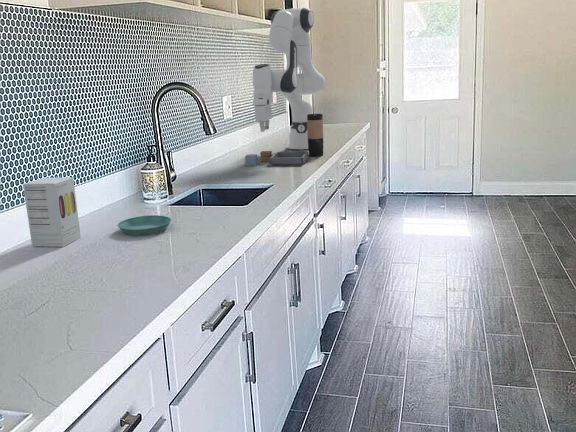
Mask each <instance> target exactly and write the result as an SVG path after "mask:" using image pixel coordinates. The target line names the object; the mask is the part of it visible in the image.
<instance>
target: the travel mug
mask: <svg viewBox="0 0 576 432" xmlns="http://www.w3.org/2000/svg"><path fill="white" fill-rule="evenodd" d="M323 117H324V116H323V113H313V114H308V115H307V132H308V149H307V151H308V157H312V158H316V157H323V156H324V121H323V120H324V119H323Z"/></svg>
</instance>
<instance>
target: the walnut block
mask: <svg viewBox="0 0 576 432" xmlns="http://www.w3.org/2000/svg"><path fill="white" fill-rule="evenodd" d="M272 156H273V152H272V150H262V151H261V152H260V162H262V163H264V162H265V163H267V162H268V163H270V157H272Z"/></svg>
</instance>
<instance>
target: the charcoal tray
mask: <svg viewBox="0 0 576 432" xmlns="http://www.w3.org/2000/svg"><path fill="white" fill-rule="evenodd" d="M308 160H309V152H308V150H307V151H303V150H302V151H276V152H275V153H274V154H272V157H270V162H269V166H270V167H278V166H279V167H281V166H283V167H284V166H285V167H286V166H289V165H298V166H304V165H305V164H306V162H307V161H308ZM289 167H290V166H289Z"/></svg>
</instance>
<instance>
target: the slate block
mask: <svg viewBox="0 0 576 432" xmlns="http://www.w3.org/2000/svg"><path fill="white" fill-rule="evenodd" d="M244 159H245V166H246V165H247V166H257V164H258V154H256V153H253V154H251V153H249V154H246V155H245V157H244Z"/></svg>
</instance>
